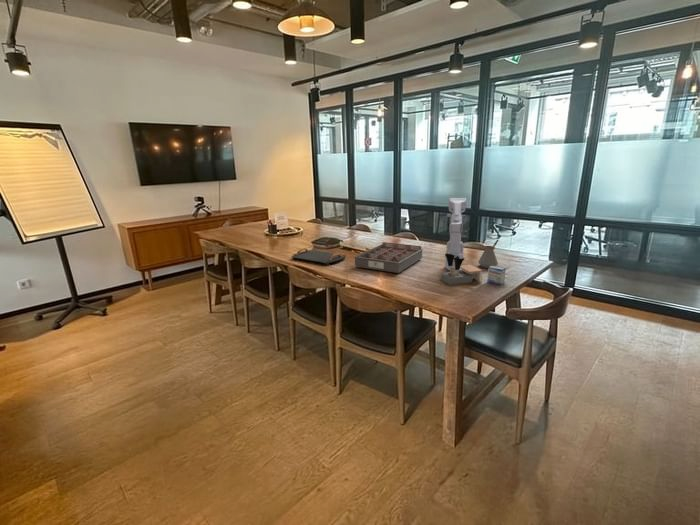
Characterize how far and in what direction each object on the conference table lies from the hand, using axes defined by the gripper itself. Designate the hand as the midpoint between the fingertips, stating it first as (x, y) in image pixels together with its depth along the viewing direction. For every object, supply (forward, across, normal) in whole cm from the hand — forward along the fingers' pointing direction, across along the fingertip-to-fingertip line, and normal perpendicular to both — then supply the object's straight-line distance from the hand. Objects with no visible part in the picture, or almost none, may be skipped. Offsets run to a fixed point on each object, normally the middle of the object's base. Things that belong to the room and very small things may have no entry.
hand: (453, 267), depth 196 cm
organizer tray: (+8, -45, -21) cm, 50 cm away
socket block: (+8, 0, +2) cm, 8 cm away
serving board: (+9, -73, -64) cm, 98 cm away
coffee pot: (+8, -21, +39) cm, 45 cm away
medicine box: (+8, +9, +21) cm, 24 cm away
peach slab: (+8, 0, +10) cm, 13 cm away
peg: (+8, 0, 0) cm, 8 cm away
